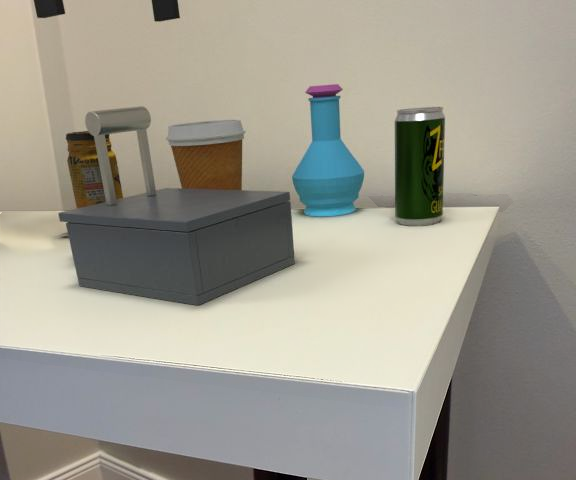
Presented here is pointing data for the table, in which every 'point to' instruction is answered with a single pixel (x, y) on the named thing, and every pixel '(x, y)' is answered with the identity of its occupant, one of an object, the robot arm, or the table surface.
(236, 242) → the gray storage case
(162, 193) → the lid
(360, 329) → the table surface
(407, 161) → the beer can
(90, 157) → the condiment
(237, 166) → the disposable coffee cup
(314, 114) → the perfume bottle
